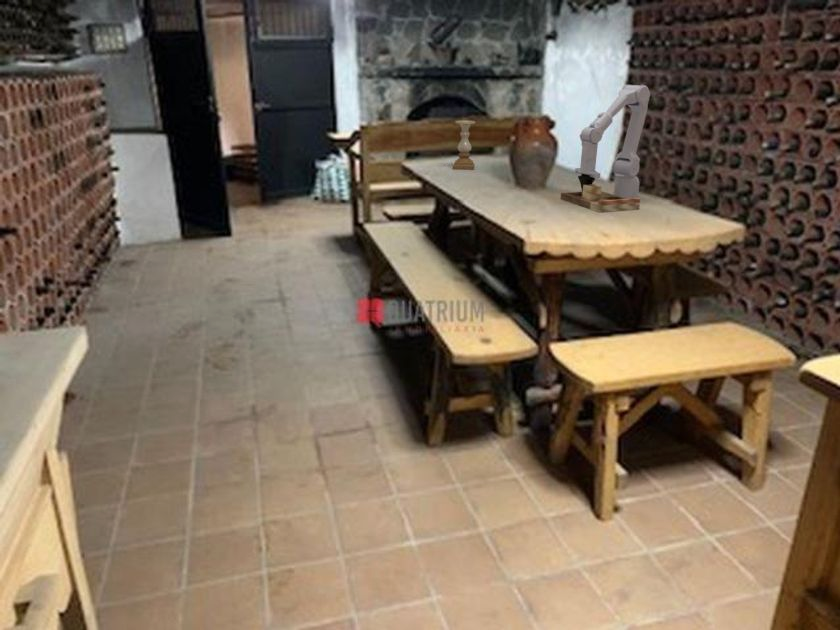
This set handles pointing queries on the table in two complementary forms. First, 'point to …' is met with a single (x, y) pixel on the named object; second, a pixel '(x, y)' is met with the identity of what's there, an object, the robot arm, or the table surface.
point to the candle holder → (464, 148)
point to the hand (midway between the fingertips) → (585, 194)
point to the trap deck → (602, 202)
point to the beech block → (591, 192)
